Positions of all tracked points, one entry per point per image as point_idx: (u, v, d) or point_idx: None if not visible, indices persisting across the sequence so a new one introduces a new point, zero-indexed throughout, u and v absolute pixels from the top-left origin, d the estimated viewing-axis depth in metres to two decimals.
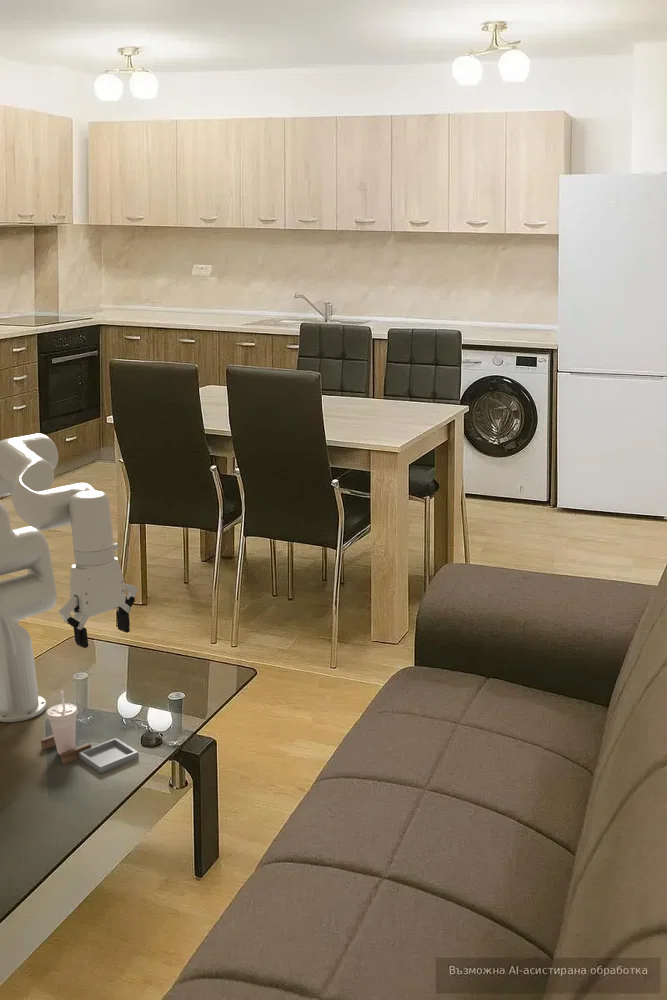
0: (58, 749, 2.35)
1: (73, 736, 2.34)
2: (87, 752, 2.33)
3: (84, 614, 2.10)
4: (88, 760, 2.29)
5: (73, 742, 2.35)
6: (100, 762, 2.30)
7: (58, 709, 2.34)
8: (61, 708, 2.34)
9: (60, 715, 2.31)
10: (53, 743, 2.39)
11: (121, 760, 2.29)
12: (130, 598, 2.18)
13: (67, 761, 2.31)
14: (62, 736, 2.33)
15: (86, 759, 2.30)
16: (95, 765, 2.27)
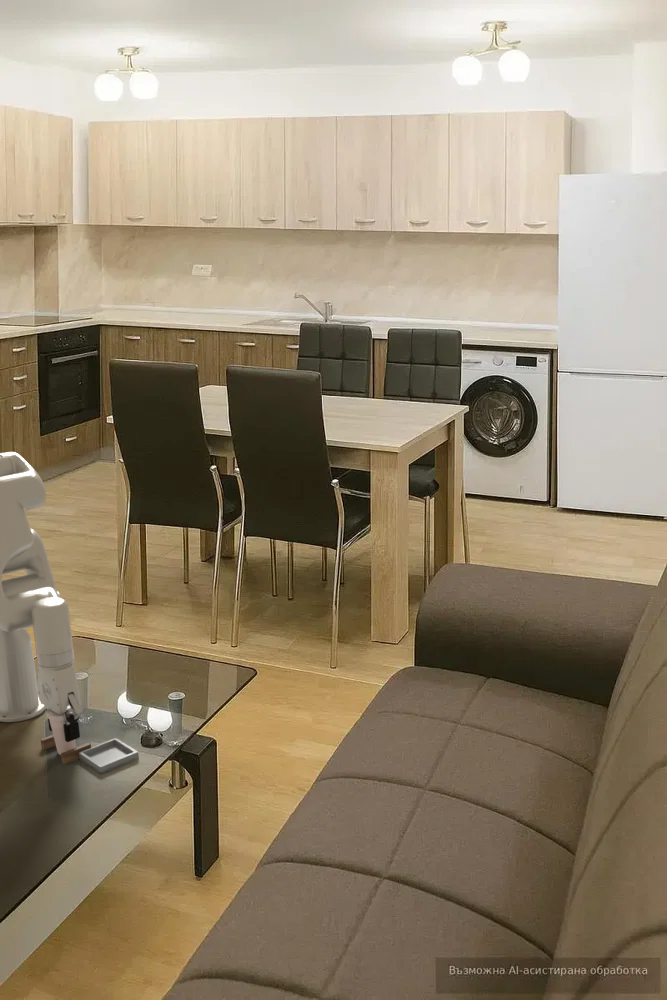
0: (58, 749, 2.35)
1: None
2: (87, 752, 2.33)
3: None
4: (88, 760, 2.29)
5: (73, 742, 2.35)
6: (100, 762, 2.30)
7: None
8: None
9: (60, 715, 2.31)
10: (53, 743, 2.39)
11: (121, 760, 2.29)
12: None
13: (67, 761, 2.31)
14: (62, 736, 2.33)
15: (86, 759, 2.30)
16: (95, 765, 2.27)
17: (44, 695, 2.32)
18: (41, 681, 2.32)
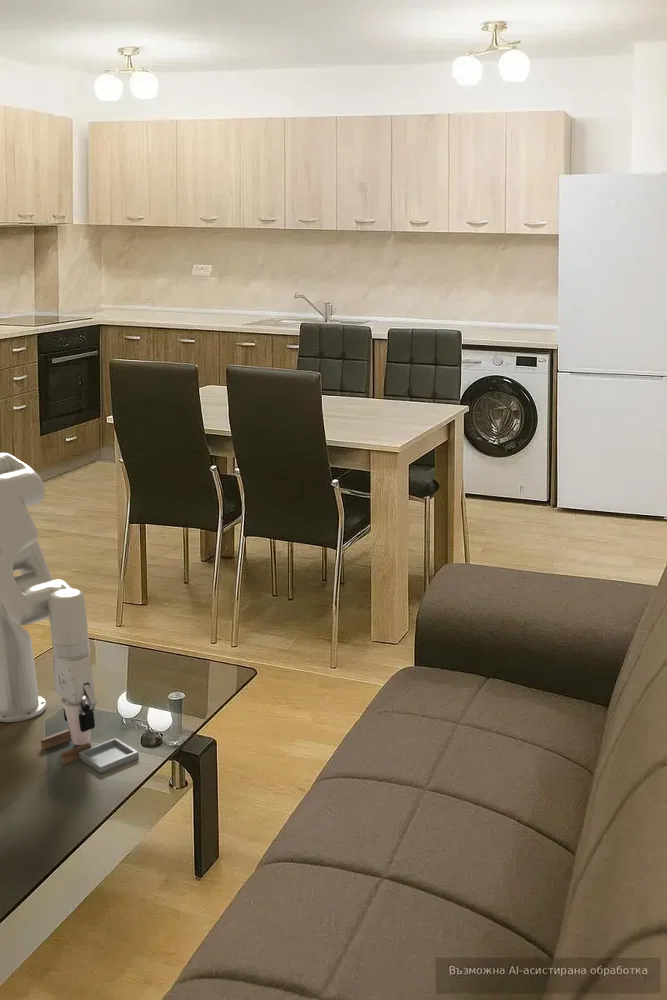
0: (73, 739, 2.37)
1: None
2: (87, 752, 2.33)
3: (94, 695, 2.33)
4: (88, 760, 2.29)
5: (88, 732, 2.37)
6: (100, 762, 2.30)
7: None
8: None
9: (75, 705, 2.34)
10: (53, 743, 2.39)
11: (121, 760, 2.29)
12: None
13: (67, 761, 2.31)
14: (77, 726, 2.35)
15: (86, 759, 2.30)
16: (95, 765, 2.27)
17: (60, 685, 2.34)
18: (57, 671, 2.34)
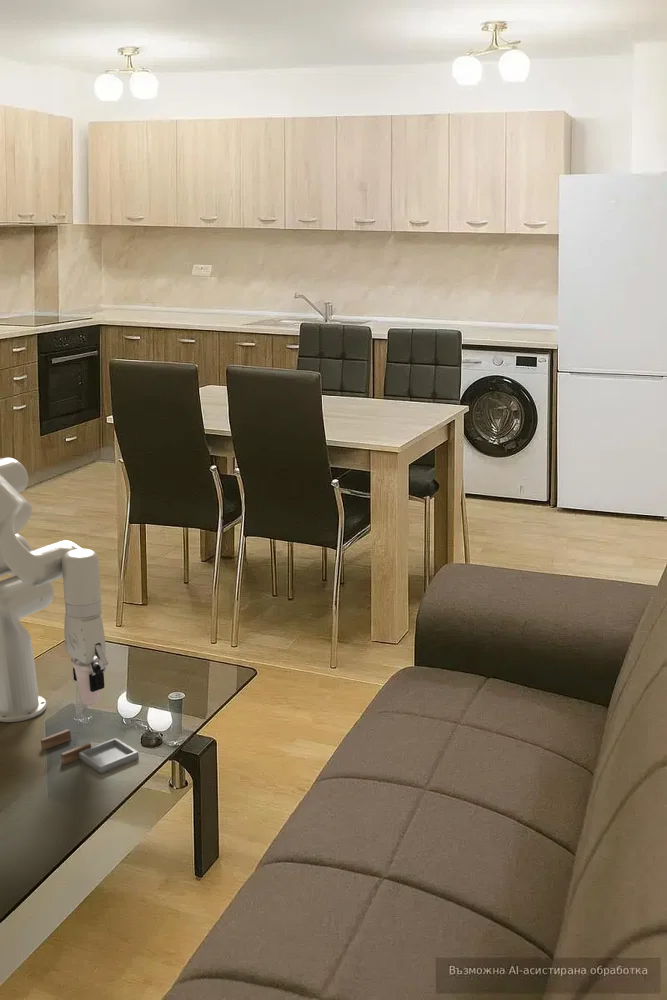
0: (82, 699, 2.38)
1: None
2: (87, 752, 2.33)
3: None
4: (88, 760, 2.29)
5: (97, 692, 2.38)
6: (100, 762, 2.30)
7: None
8: None
9: (86, 665, 2.35)
10: (53, 743, 2.39)
11: (121, 760, 2.29)
12: None
13: (67, 761, 2.31)
14: (87, 686, 2.36)
15: (86, 759, 2.30)
16: (95, 765, 2.27)
17: (71, 645, 2.35)
18: (68, 631, 2.35)
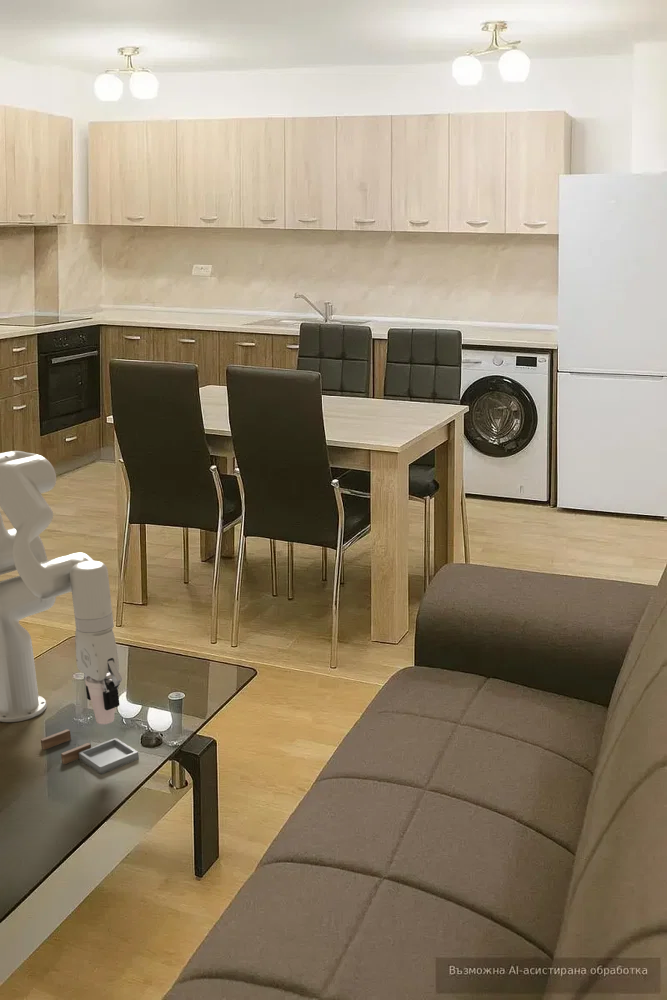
0: (96, 718, 2.28)
1: None
2: (87, 752, 2.33)
3: None
4: (88, 760, 2.29)
5: (112, 711, 2.28)
6: (100, 762, 2.30)
7: None
8: None
9: (99, 682, 2.25)
10: (53, 743, 2.39)
11: (121, 760, 2.29)
12: None
13: (67, 761, 2.31)
14: (101, 704, 2.26)
15: (86, 759, 2.30)
16: (95, 765, 2.27)
17: (82, 662, 2.25)
18: (79, 648, 2.25)
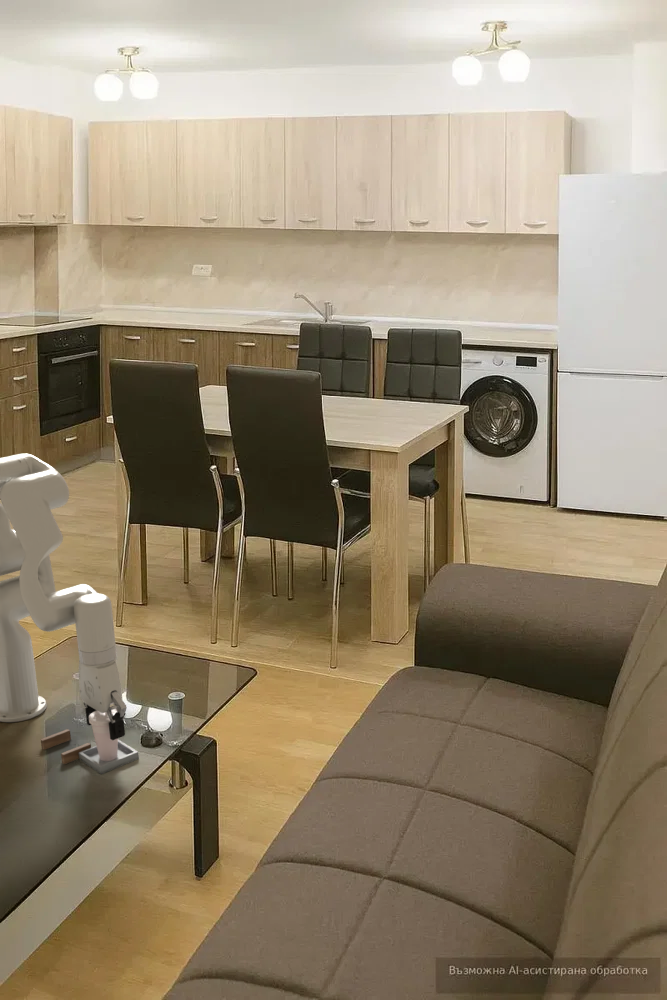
0: (100, 755, 2.30)
1: (115, 742, 2.30)
2: (87, 752, 2.33)
3: None
4: (88, 760, 2.29)
5: (115, 748, 2.31)
6: (100, 762, 2.30)
7: (100, 714, 2.29)
8: (103, 713, 2.30)
9: (103, 720, 2.27)
10: (53, 743, 2.39)
11: (121, 760, 2.29)
12: None
13: (67, 761, 2.31)
14: (104, 742, 2.28)
15: (86, 759, 2.30)
16: (95, 765, 2.27)
17: (86, 693, 2.27)
18: (83, 679, 2.27)
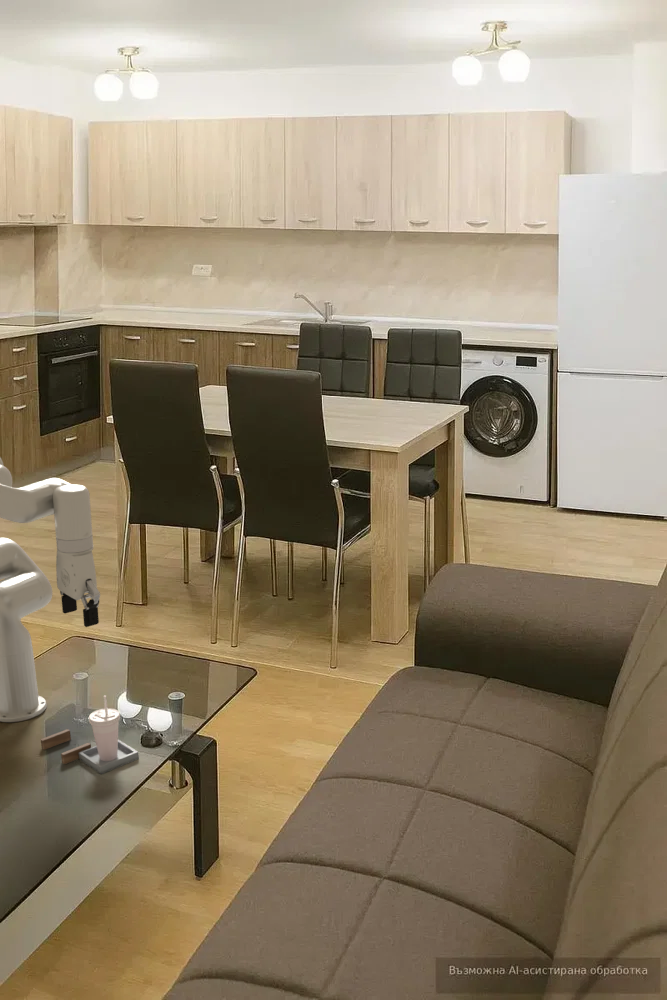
0: (100, 755, 2.30)
1: (115, 742, 2.30)
2: (87, 752, 2.33)
3: None
4: (88, 760, 2.29)
5: (115, 748, 2.31)
6: (100, 762, 2.30)
7: (100, 714, 2.29)
8: (103, 713, 2.30)
9: (103, 720, 2.27)
10: (53, 743, 2.39)
11: (121, 760, 2.29)
12: None
13: (67, 761, 2.31)
14: (104, 742, 2.28)
15: (86, 759, 2.30)
16: (95, 765, 2.27)
17: (62, 581, 2.35)
18: (60, 567, 2.34)
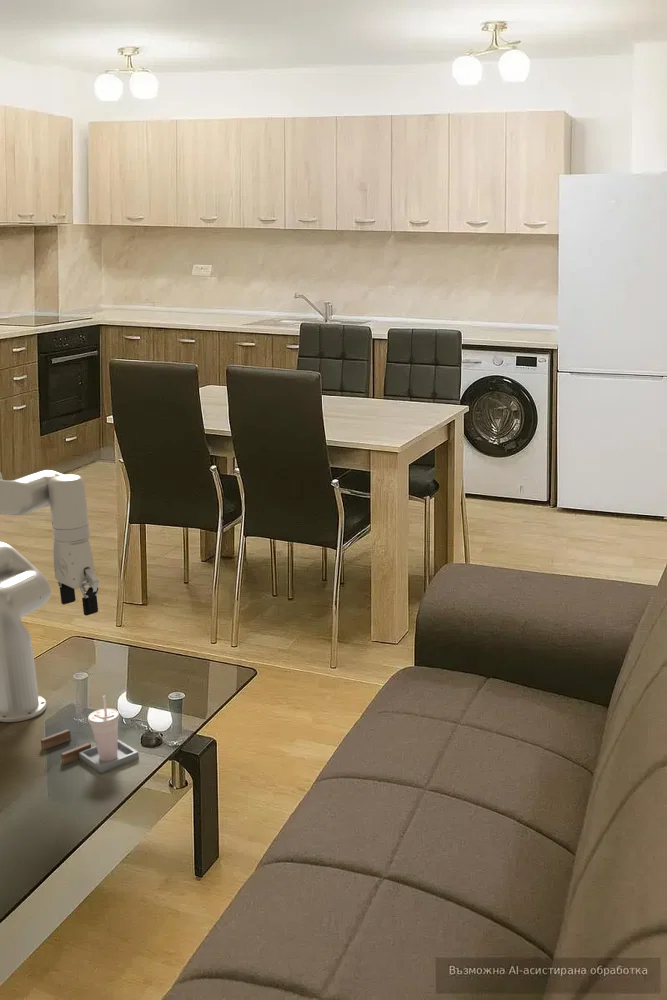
0: (100, 755, 2.30)
1: (115, 741, 2.30)
2: (87, 752, 2.33)
3: None
4: (88, 760, 2.29)
5: (115, 748, 2.31)
6: (100, 762, 2.30)
7: (100, 714, 2.29)
8: (103, 713, 2.30)
9: (102, 720, 2.27)
10: (53, 743, 2.39)
11: (121, 760, 2.29)
12: None
13: (67, 761, 2.31)
14: (104, 742, 2.28)
15: (86, 759, 2.30)
16: (95, 765, 2.27)
17: (60, 572, 2.36)
18: (57, 558, 2.36)
